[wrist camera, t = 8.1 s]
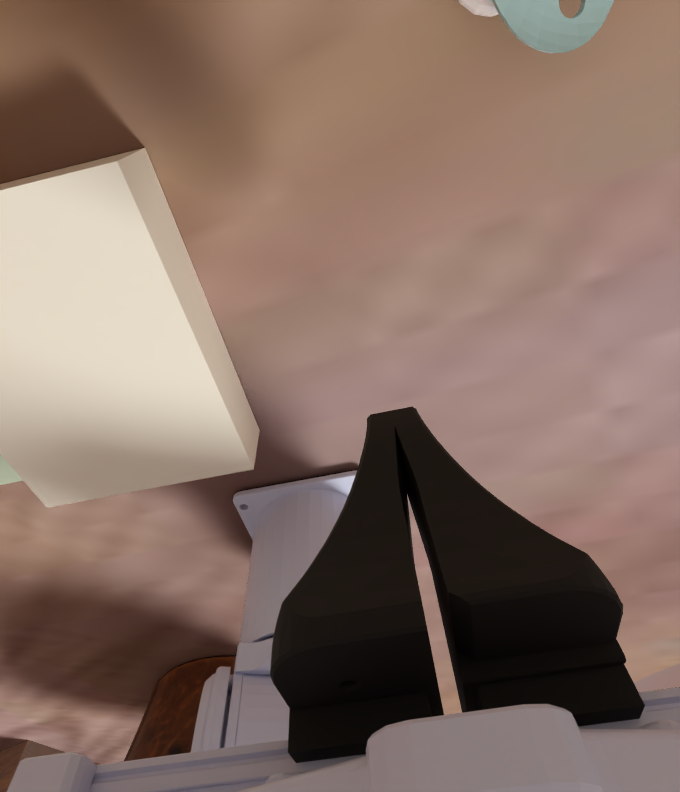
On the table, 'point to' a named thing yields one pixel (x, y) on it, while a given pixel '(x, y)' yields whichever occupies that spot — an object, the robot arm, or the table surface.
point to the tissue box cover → (20, 759)
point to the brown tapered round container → (174, 710)
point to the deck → (109, 340)
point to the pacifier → (545, 21)
